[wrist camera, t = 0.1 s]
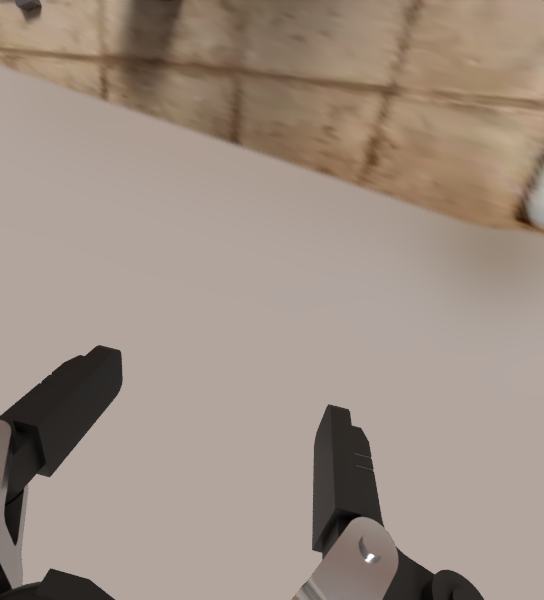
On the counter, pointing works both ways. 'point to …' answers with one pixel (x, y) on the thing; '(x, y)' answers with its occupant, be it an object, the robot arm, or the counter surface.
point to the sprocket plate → (28, 4)
